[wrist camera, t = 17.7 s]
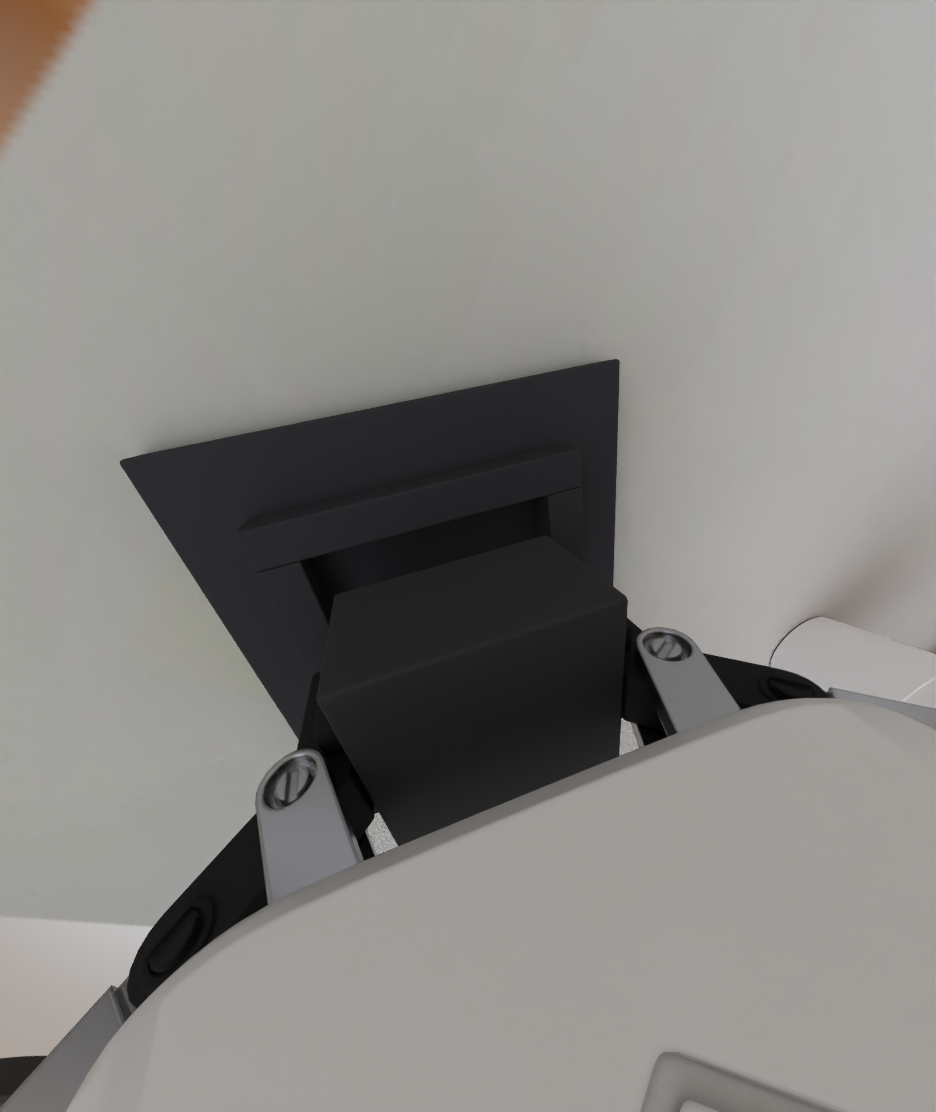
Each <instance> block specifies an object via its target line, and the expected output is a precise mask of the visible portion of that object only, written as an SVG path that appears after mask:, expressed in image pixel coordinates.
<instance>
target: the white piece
mask: <svg viewBox="0 0 936 1112" xmlns="http://www.w3.org/2000/svg"><path fill="white" fill-rule="evenodd" d="M770 667H772V668H777V669H782V670H786V671H789V672H793V673H796V674H798V675H800V676H803V677H805V678H807V679H809V680H810V681H812V682H814V683H815V684H817V685H818V686H819V687H820V688H822V689H823V690H824V691H826V692H827V691H828V689H829V687H832V688H837V689H842V690H847V691H852V692H857V693H862V694H866V695H871V696H876V697H881V698H886V699H891V700H896V701H900V702H905V703H910V704H915V705H920V706H925V707H930V708H935V709H936V654H933V653H930V652H927V651H924V650H921V649H918V648H916V647H913V646H910V645H907V644H904V643H901V642H898V641H895V640H892V639H889V638H886V637H883V636H880V635H877V634H874V633H871V632H868V631H865V630H862V629H859V628H856V627H853V626H850V625H847V624H844V623H841V622H838V621H836V620H833V619H830V618H827V617H816V618H813V619H810V620H808V621H806V622H804V623H803V624H801V625H799V626H798V627H797V628H795V629H794V630H793V631H792V632H791V633H789V634H788V635H787V636H786V637H785V638H784V640H783V641H782V642H781V643H780V645H779V646H778V647H777V649H776V651H775V652H774V654H773V657H772V659H771V664H770Z"/></svg>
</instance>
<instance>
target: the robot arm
mask: <svg viewBox="0 0 936 1112" xmlns="http://www.w3.org/2000/svg"><path fill="white" fill-rule="evenodd" d="M320 674H321V671H320V672H317V673H315V674H314V675H313V677H312V680H311V685H310V689H309V694H308V699H307V704H306V709H305V714H304V719H303V723H302V728H301V733H300V738H299V743H298V748H297V751H294V752H292V753H290V754H288V755H286V756H284V757H283V758H282V759H281V760H279V761H278V762H277V763H275V764H274V766H273V767H272V768H271V769H270V770H269V771H268V772H267V773H266V775H265V776H264V778H263V780H262V781H261V783H260V785H259V787H258V790H257V793H256V801H255V806H256V814H255V815H254V816H253V817H252V818H251V819H250V820H249V822H248V823H247V824H246V825H245V826H244V827H243V828H242V829H241V830H240V831H239V833H238V834H237V835H236V836H235V837H234V838H233V839H232V840H231V841H230V842H229V843H228V845H227V846H226V847H225V848H224V849H223V850H222V851H221V852H220V853H219V854H218V855H217V857H216V858H215V859H214V860H213V861H212V862H211V863H210V864H209V865H208V866H207V867H206V869H205V870H204V871H203V872H202V873H201V874H200V875H199V876H198V877H197V878H196V879H195V881H194V882H193V883H192V884H191V885H190V886H189V887H188V888H187V889H186V890H185V891H184V893H183V894H182V895H181V896H180V897H179V898H178V899H177V900H176V901H175V902H174V903H173V905H172V906H171V907H170V908H169V909H168V910H167V911H166V912H165V913H164V914H163V916H162V917H161V918H160V919H159V921H158V922H157V923H156V924H155V926H154V927H153V928H152V929H151V931H150V932H149V933H148V935H147V937H146V938H145V940H144V942H143V943H142V945H141V947H140V948H139V950H138V953H137V955H136V957H135V959H134V962H133V964H132V966H131V969H130V973H129V976H128V977H127V978H126V980H125V981H124V982H123V983H122V984H121V985H120V986H119V987H118V988H117V987H115V986H112V985H111V986H110V988H109V989H108V990H107V991H106V992H105V993H104V994H103V995H102V996H101V997H100V999H99V1000H98V1001H97V1002H96V1003H95V1004H94V1005H93V1006H92V1007H91V1008H90V1009H89V1011H88V1012H87V1013H86V1014H85V1015H84V1016H83V1017H82V1018H81V1020H80V1021H79V1022H78V1023H77V1024H76V1025H75V1026H74V1027H73V1028H72V1029H71V1030H70V1032H69V1033H68V1034H67V1035H66V1036H65V1037H64V1038H63V1039H62V1040H61V1041H60V1043H59V1044H58V1045H57V1046H56V1047H55V1048H54V1049H53V1050H52V1051H51V1052H50V1054H49V1055H48V1056H47V1057H46V1058H45V1059H44V1060H43V1061H42V1062H41V1063H40V1065H39V1066H38V1067H37V1068H36V1069H35V1070H34V1071H33V1072H32V1073H31V1074H30V1076H29V1077H28V1078H27V1079H26V1080H25V1081H24V1082H23V1083H22V1084H21V1085H20V1087H19V1088H18V1089H17V1090H16V1091H15V1092H14V1093H13V1094H12V1095H11V1096H10V1098H9V1099H8V1100H7V1101H6V1102H5V1103H4V1104H3V1105H2V1106H1V1107H0V1112H936V709H935V708H930V707H925V706H920V705H915V704H910V703H905V702H900V701H896V700H891V699H886V698H881V697H876V696H871V695H866V694H862V693H857V692H852V691H847V690H842V689H837V688H832V687H829V689H828V691H827V692H826V691H824V690H823V689H822V688H820V687H819V686H818V685H817V684H815V683H814V682H812V681H810V680H809V679H807V678H805V677H803V676H800V675H798V674H796V673H793V672H789V671H786V670H782V669H777V668H772V667H767V666H762V665H758V664H753V663H748V662H743V661H738V660H733V659H728V658H724V657H719V656H714V655H709V654H704V653H702V652H701V650H700V649H699V647H698V646H697V644H696V643H695V642H694V641H693V640H692V639H691V638H690V637H688V636H687V635H685V634H684V633H681V632H679V631H677V630H674V629H669V628H662V627H655V628H649V629H646V630H644V631H642V630H641V629H640V628H638V627H637V626H636V625H635V624H634V623H633V622H631V621H630V620H629V619H628V618H627V622H626V640H625V658H624V676H623V694H622V712H621V718H624V720H625V721H629V722H631V725H632V728H633V731H634V734H635V737H636V740H637V743H638V746H639V749H636V750H634V751H631V752H629V753H626V754H624V755H621V756H619V757H616V758H614V759H611V760H609V761H606V762H604V763H601V764H599V765H596V766H594V767H591V768H589V769H586V770H584V771H581V772H579V773H577V774H574V775H572V776H569V777H567V778H564V779H562V780H559V781H557V782H554V783H552V784H549V785H547V786H544V787H542V788H540V789H537V790H535V791H532V792H530V793H527V794H525V795H522V796H520V797H517V798H515V799H513V800H510V801H508V802H505V803H503V804H500V805H498V806H495V807H493V808H490V809H488V810H486V811H483V812H481V813H478V814H476V815H473V816H471V817H469V818H466V819H464V820H461V821H459V822H456V823H454V824H452V825H449V826H447V827H444V828H442V829H439V830H437V831H435V832H432V833H430V834H427V835H425V836H422V837H420V838H418V839H415V840H413V841H410V842H408V843H406V844H403V845H401V846H398V847H396V848H393V849H391V850H389V851H386V852H384V853H381V854H379V855H377V853H376V851H375V848H374V846H373V843H372V841H371V838H370V836H369V833H368V831H367V828H368V826H369V825H370V823H371V822H372V820H373V819H374V814H375V813H378V812H379V811H378V809H377V808H376V806H375V804H374V802H373V800H372V799H371V797H370V795H369V793H368V792H367V790H366V788H365V786H364V784H363V783H362V781H361V779H360V777H359V776H358V774H357V772H356V770H355V768H354V767H353V765H352V763H351V761H350V760H349V758H348V756H347V754H346V752H345V751H344V749H343V747H342V745H341V744H340V742H339V740H338V738H337V737H336V735H335V733H334V731H333V729H332V728H331V726H330V724H329V722H328V721H327V719H326V717H325V715H324V713H323V712H322V710H321V708H320V706H319V705H318V703H317V701H316V697H317V691H318V686H319V680H320Z"/></svg>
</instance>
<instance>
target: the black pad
mask: <svg viewBox="0 0 936 1112" xmlns="http://www.w3.org/2000/svg"><path fill="white" fill-rule="evenodd" d="M627 604H628V600H627V598H626V596H625V595H623V594H622V593H621V592H620V591H618V590H617V589H616V588H614V587H613V586H612V585H611V584H609V583H608V582H607V581H605V580H604V579H603V578H601V577H600V576H599V575H598V574H596V573H595V572H594V571H592V570H591V569H590V568H589V567H587V566H586V565H585V564H583V563H582V562H581V561H579V560H578V559H577V558H576V557H574V556H573V555H572V554H570V553H569V552H568V551H567V550H565V549H564V548H563V547H561V546H560V545H559V544H557V543H556V542H555V541H554V540H552V539H551V538H550V537H548V536H541V537H537V538H534V539H530V540H527V541H523V542H520V543H516V544H512V545H509V546H505V547H502V548H498V549H495V550H491V551H488V552H484V553H481V554H477V555H474V556H470V557H467V558H463V559H459V560H456V561H452V562H449V563H445V564H442V565H438V566H435V567H431V568H428V569H424V570H421V571H417V572H414V573H410V574H406V575H403V576H399V577H396V578H392V579H389V580H385V581H382V582H378V583H375V584H371V585H368V586H364V587H361V588H357V589H354V590H350V591H346V592H343V593H339V594H337V595H335V596H334V601H333V607H332V612H331V618H330V624H329V629H328V635H327V641H326V646H325V652H324V657H323V663H322V669H321V674H320V680H319V686H318V691H317V697H316V701H317V703H318V705H319V706H320V708H321V710H322V712H323V713H324V715H325V717H326V719H327V721H328V722H329V724H330V726H331V728H332V729H333V731H334V733H335V735H336V737H337V738H338V740H339V742H340V744H341V745H342V747H343V749H344V751H345V752H346V754H347V756H348V758H349V760H350V761H351V763H352V765H353V767H354V768H355V770H356V772H357V774H358V776H359V777H360V779H361V781H362V783H363V784H364V786H365V788H366V790H367V792H368V793H369V795H370V797H371V799H372V800H373V802H374V804H375V806H376V808H377V809H378V811H379V813H380V815H381V816H382V818H383V820H384V822H385V823H386V825H387V827H388V829H389V831H390V832H391V834H392V836H393V838H394V839H395V841H396V843H397V845H398V846H401V845H403V844H406V843H408V842H410V841H413V840H415V839H418V838H420V837H422V836H425V835H427V834H430V833H432V832H435V831H437V830H439V829H442V828H444V827H447V826H449V825H452V824H454V823H456V822H459V821H461V820H464V819H466V818H469V817H471V816H473V815H476V814H478V813H481V812H483V811H486V810H488V809H490V808H493V807H495V806H498V805H500V804H503V803H505V802H508V801H510V800H513V799H515V798H517V797H520V796H522V795H525V794H527V793H530V792H532V791H535V790H537V789H540V788H542V787H544V786H547V785H549V784H552V783H554V782H557V781H559V780H562V779H564V778H567V777H569V776H572V775H574V774H577V773H579V772H581V771H584V770H586V769H589V768H591V767H594V766H596V765H599V764H601V763H604V762H606V761H609V760H611V759H614V758H616V757H619V747H620V730H621V712H622V694H623V676H624V658H625V640H626V622H627Z"/></svg>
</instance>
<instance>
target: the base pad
mask: <svg viewBox="0 0 936 1112" xmlns="http://www.w3.org/2000/svg"><path fill="white" fill-rule="evenodd" d="M619 365H620V362H619V360H617V359H614V360H608V361H602V362H597V363H592V364H587V365H582V366H577V367H572V368H567V369H562V370H557V371H552V372H547V373H542V374H537V375H533V376H528V377H523V378H518V379H513V380H508V381H503V382H498V383H493V384H488V385H483V386H478V387H473V388H468V389H464V390H459V391H454V392H449V393H444V394H439V395H434V396H429V397H424V398H419V399H414V400H409V401H404V402H400V403H395V404H390V405H385V406H380V407H375V408H370V409H365V410H360V411H355V412H350V413H345V414H340V415H335V416H331V417H326V418H321V419H316V420H311V421H306V422H301V423H296V424H291V425H286V426H281V427H276V428H271V429H266V430H262V431H257V432H252V433H247V434H242V435H237V436H232V437H227V438H222V439H217V440H212V441H207V442H202V443H197V444H193V445H188V446H183V447H178V448H173V449H168V450H163V451H158V452H153V453H148V454H143V455H139V456H135V457H131V458H127V459H123V460H121V461H120V465H121V466H122V468H123V469H124V471H125V472H126V474H127V476H128V477H129V479H130V480H131V482H132V483H133V485H134V486H135V488H136V489H137V491H138V493H139V494H140V496H141V497H142V499H143V500H144V502H145V503H146V505H147V506H148V508H149V509H150V511H151V513H152V514H153V516H154V517H155V519H156V520H157V522H158V523H159V525H160V526H161V528H162V530H163V531H164V533H165V534H166V536H167V537H168V539H169V540H170V542H171V543H172V545H173V546H174V548H175V550H176V551H177V553H178V554H179V556H180V557H181V559H182V560H183V562H184V563H185V565H186V567H187V568H188V570H189V571H190V573H191V574H192V576H193V577H194V579H195V580H196V582H197V583H198V585H199V587H200V588H201V590H202V591H203V593H204V594H205V596H206V597H207V599H208V600H209V602H210V604H211V605H212V607H213V608H214V610H215V611H216V613H217V614H218V616H219V617H220V619H221V620H222V622H223V624H224V625H225V627H226V628H227V630H228V631H229V633H230V634H231V636H232V637H233V639H234V641H235V642H236V644H237V645H238V647H239V648H240V650H241V651H242V653H243V654H244V656H245V657H246V659H247V661H248V662H249V664H250V665H251V667H252V668H253V670H254V671H255V673H256V674H257V676H258V678H259V679H260V681H261V682H262V684H263V685H264V687H265V688H266V690H267V691H268V693H269V695H270V696H271V698H272V699H273V701H274V702H275V704H276V705H277V707H278V708H279V710H280V711H281V713H282V715H283V716H284V718H285V719H286V721H287V722H288V724H289V725H290V727H291V728H292V730H293V732H294V733H295V735H296V736H297V738H298V739H299V738H300V733H301V728H302V723H303V719H304V714H305V709H306V704H307V699H308V694H309V689H310V685H311V680H312V677H313V675H314V674H315V673H317V672H320V671H321V669H322V663H323V657H324V652H325V646H326V641H327V635H328V629H329V624H330V618H331V612H332V607H333V601H334V596H335V595H337V594H339V593H343V592H346V591H350V590H354V589H357V588H361V587H364V586H368V585H371V584H375V583H378V582H382V581H385V580H389V579H392V578H396V577H399V576H403V575H406V574H410V573H414V572H417V571H421V570H424V569H428V568H431V567H435V566H438V565H442V564H445V563H449V562H452V561H456V560H459V559H463V558H467V557H470V556H474V555H477V554H481V553H484V552H488V551H491V550H495V549H498V548H502V547H505V546H509V545H512V544H516V543H520V542H523V541H527V540H530V539H534V538H537V537H541V536H548V537H550V538H551V539H552V540H554V541H555V542H556V543H557V544H559V545H560V546H561V547H563V548H564V549H565V550H567V551H568V552H569V553H570V554H572V555H573V556H574V557H576V558H577V559H578V560H579V561H581V562H582V563H583V564H585V565H586V566H587V567H589V568H590V569H591V570H592V571H594V572H595V573H596V574H598V575H599V576H600V577H601V578H603V579H604V580H605V581H607V582H608V583H609V584H611V585H612V586H613V570H614V536H615V502H616V468H617V433H618V399H619Z"/></svg>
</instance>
